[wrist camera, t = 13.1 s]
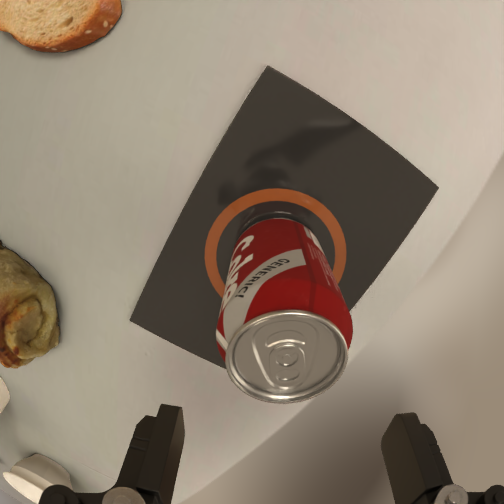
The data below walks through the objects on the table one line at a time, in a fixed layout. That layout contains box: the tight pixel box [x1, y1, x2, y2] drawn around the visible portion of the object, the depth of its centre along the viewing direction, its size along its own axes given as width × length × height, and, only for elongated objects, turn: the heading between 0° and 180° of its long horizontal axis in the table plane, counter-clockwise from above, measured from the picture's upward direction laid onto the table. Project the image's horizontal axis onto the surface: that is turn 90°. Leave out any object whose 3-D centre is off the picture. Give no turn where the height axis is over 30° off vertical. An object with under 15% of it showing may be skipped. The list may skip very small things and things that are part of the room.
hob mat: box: [130, 66, 439, 369], centre depth 25 cm, size 24×16×1 cm, turn 149°
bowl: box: [3, 454, 73, 504], centre depth 40 cm, size 16×16×8 cm
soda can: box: [216, 218, 353, 404], centre depth 19 cm, size 7×7×12 cm
